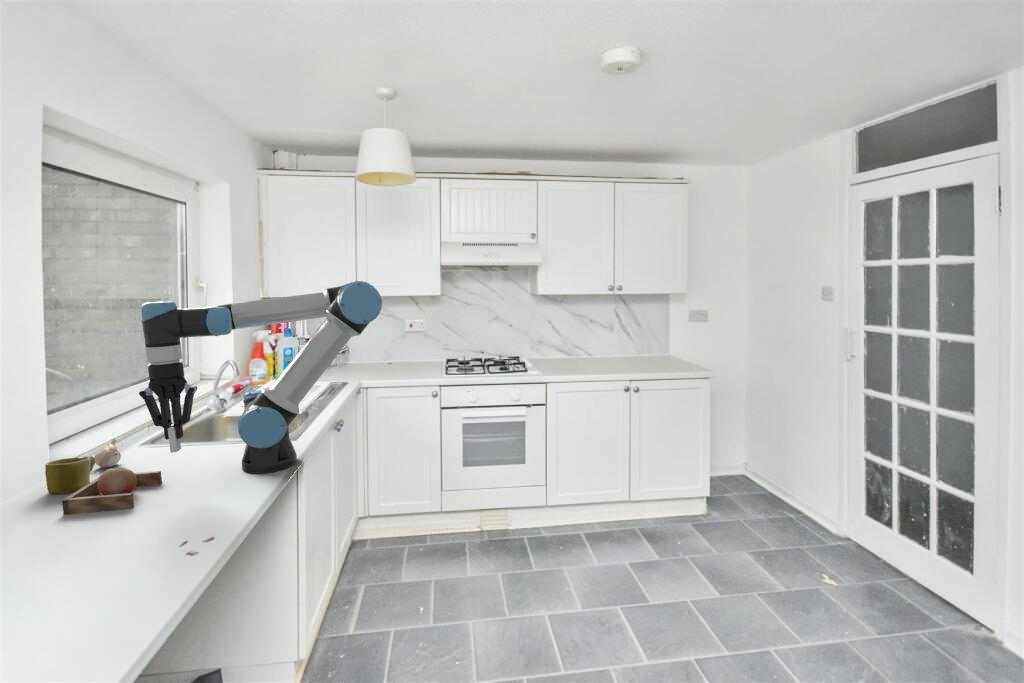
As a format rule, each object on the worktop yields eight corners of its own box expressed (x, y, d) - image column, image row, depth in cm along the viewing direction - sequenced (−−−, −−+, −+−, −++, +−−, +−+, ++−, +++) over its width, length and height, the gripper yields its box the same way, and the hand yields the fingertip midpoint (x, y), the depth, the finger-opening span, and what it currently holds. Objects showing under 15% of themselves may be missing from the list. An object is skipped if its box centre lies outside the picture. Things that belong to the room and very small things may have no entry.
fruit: (145, 493, 134) (142, 464, 133) (112, 505, 127) (109, 475, 126) (125, 489, 137) (122, 460, 136) (91, 501, 130) (88, 471, 129)
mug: (65, 492, 131) (60, 454, 132) (36, 501, 133) (32, 463, 134) (113, 483, 142) (108, 448, 144) (86, 492, 145) (81, 457, 146)
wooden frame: (162, 483, 141) (160, 471, 141) (131, 508, 125) (130, 494, 125) (102, 487, 138) (101, 475, 138) (63, 514, 122) (61, 500, 122)
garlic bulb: (125, 465, 156) (123, 439, 155) (100, 471, 150) (97, 445, 149) (116, 461, 159) (113, 436, 158) (91, 467, 154) (88, 442, 153)
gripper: (198, 358, 136) (208, 443, 139) (143, 361, 133) (154, 448, 136) (187, 362, 128) (197, 452, 131) (129, 366, 126) (140, 458, 129)
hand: (175, 450), depth 134 cm, fingers closed
